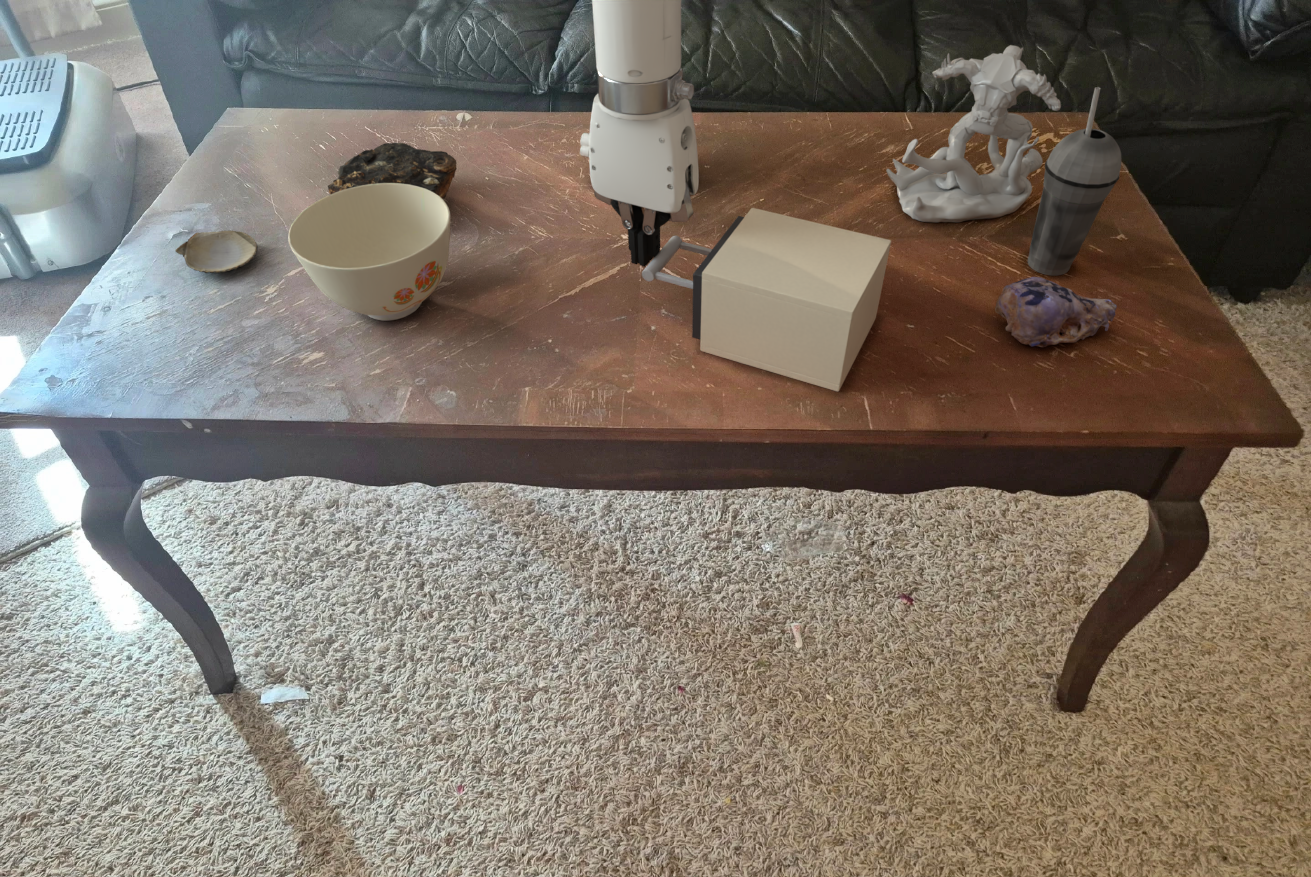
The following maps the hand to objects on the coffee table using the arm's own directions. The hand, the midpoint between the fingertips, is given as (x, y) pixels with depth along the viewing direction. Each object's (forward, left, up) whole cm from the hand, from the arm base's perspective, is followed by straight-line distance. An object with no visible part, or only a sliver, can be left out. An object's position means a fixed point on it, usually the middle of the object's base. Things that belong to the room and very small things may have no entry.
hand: (645, 258), depth 92 cm
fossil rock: (-36, +3, -5) cm, 36 cm away
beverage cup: (+38, +24, -5) cm, 46 cm away
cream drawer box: (+16, 0, -5) cm, 17 cm away
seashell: (-48, -15, -5) cm, 50 cm away
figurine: (+26, +34, -5) cm, 44 cm away
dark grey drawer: (+11, 0, -4) cm, 12 cm away
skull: (+40, +12, -5) cm, 43 cm away
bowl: (-25, -13, -5) cm, 28 cm away
